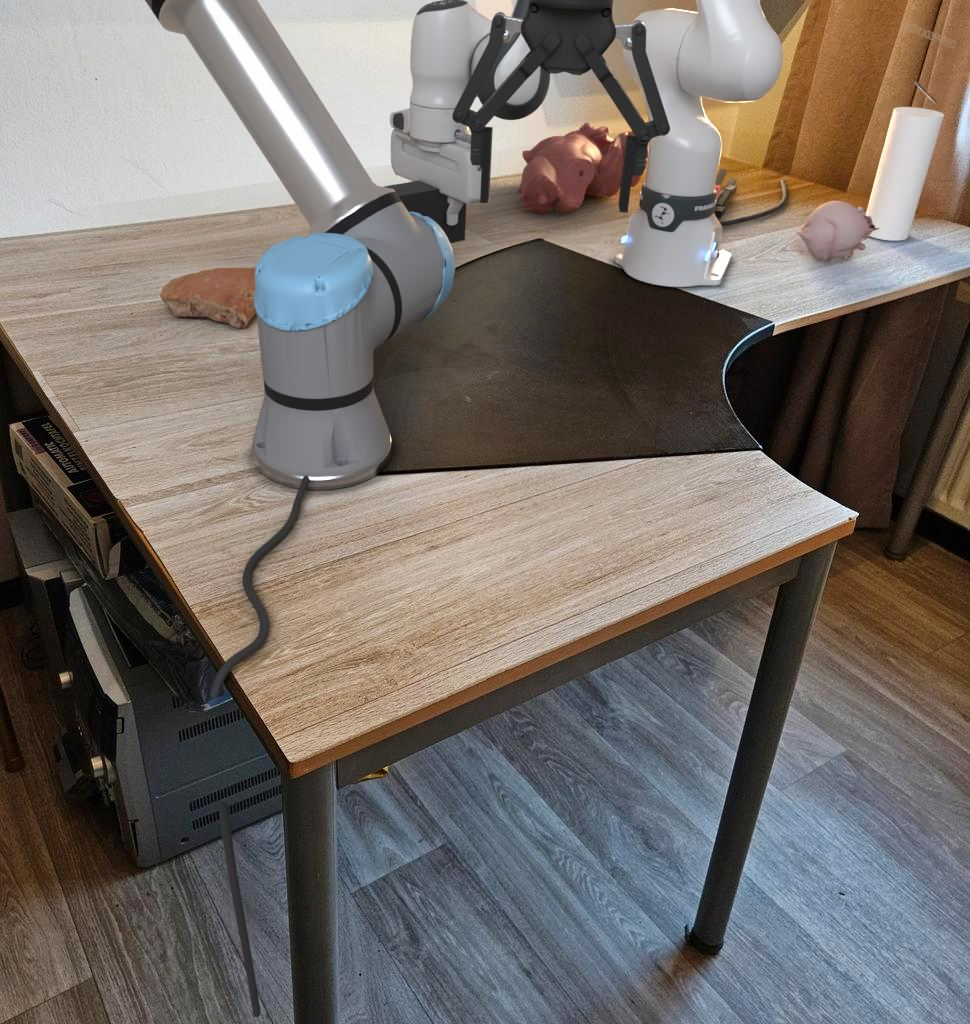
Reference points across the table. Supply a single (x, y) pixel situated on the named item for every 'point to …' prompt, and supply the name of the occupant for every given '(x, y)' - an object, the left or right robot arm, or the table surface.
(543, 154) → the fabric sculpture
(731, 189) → the toy
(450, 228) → the bar
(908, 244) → the table surface
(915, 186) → the tall white tube
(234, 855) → the left robot arm
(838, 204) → the toy
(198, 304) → the ceramic shard
